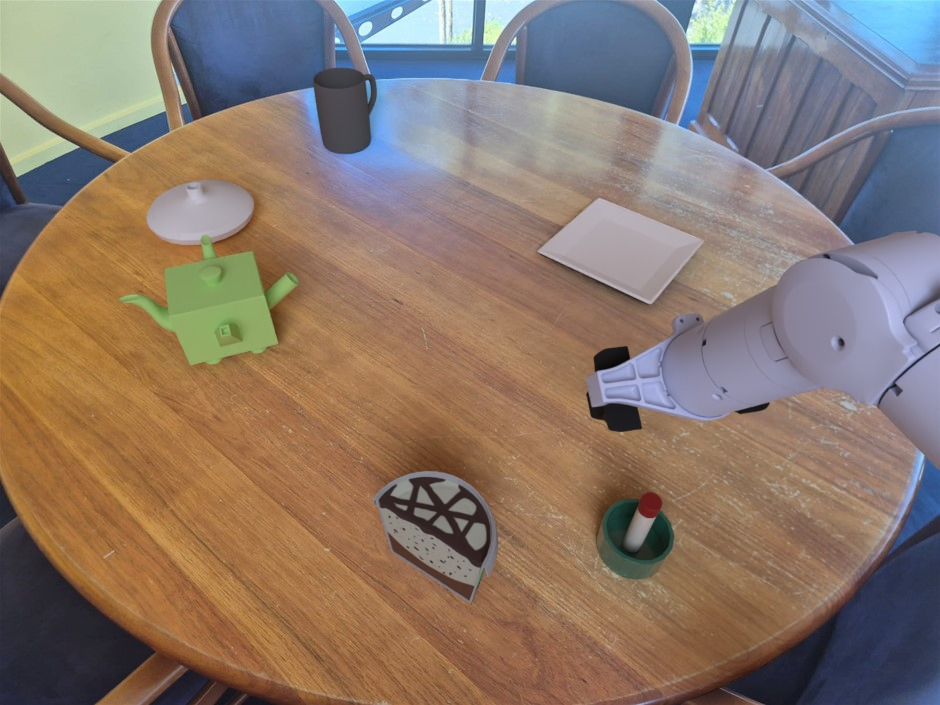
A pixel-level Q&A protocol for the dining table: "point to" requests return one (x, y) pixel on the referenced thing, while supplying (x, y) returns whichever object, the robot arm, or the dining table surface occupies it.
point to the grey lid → (200, 212)
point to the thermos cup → (650, 551)
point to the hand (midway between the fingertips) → (637, 398)
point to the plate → (622, 249)
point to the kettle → (218, 305)
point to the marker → (642, 521)
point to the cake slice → (440, 529)
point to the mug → (344, 108)
